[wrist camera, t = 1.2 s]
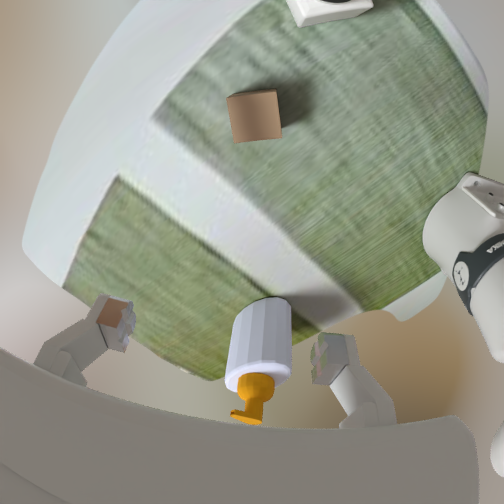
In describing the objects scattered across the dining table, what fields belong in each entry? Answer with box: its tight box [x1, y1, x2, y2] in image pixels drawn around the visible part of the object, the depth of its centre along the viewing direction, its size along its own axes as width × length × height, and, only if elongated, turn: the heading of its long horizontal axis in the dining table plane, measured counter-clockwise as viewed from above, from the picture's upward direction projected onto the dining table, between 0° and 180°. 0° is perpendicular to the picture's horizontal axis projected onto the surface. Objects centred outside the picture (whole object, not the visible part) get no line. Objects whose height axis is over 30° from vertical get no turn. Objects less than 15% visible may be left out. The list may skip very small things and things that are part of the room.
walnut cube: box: [226, 89, 282, 143], centre depth 29 cm, size 5×5×5 cm
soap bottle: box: [225, 297, 292, 425], centre depth 43 cm, size 13×8×20 cm, turn 142°
